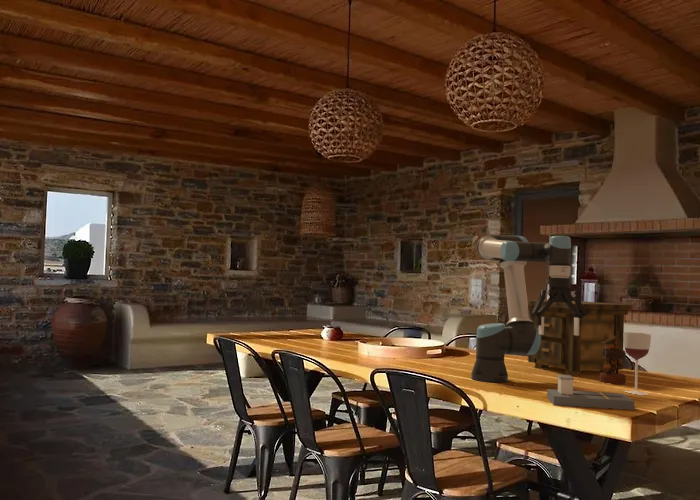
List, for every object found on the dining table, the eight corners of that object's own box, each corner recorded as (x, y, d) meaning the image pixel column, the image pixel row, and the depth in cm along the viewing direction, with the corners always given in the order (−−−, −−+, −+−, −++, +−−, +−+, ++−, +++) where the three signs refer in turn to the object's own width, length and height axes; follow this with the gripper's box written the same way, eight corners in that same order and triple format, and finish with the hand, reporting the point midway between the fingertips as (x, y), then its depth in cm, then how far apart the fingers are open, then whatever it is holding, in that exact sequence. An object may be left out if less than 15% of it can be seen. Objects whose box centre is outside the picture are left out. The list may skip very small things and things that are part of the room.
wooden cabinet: (630, 375, 292) (631, 304, 294) (571, 377, 279) (573, 303, 280) (576, 364, 325) (577, 301, 326) (521, 365, 311) (522, 299, 312)
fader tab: (560, 394, 218) (560, 377, 218) (557, 390, 224) (557, 374, 225) (573, 394, 217) (573, 378, 218) (569, 391, 224) (570, 375, 224)
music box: (618, 385, 260) (615, 337, 262) (593, 383, 269) (590, 336, 271) (635, 382, 270) (631, 335, 272) (610, 380, 279) (607, 335, 281)
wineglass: (617, 390, 249) (618, 332, 250) (641, 391, 250) (642, 332, 251) (629, 394, 240) (631, 334, 241) (654, 395, 241) (656, 335, 241)
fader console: (553, 405, 215) (553, 395, 215) (547, 397, 228) (547, 388, 228) (634, 410, 211) (634, 400, 211) (622, 402, 225) (622, 393, 225)
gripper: (531, 276, 228) (530, 334, 227) (596, 278, 231) (595, 336, 230) (523, 276, 236) (522, 333, 235) (586, 278, 239) (586, 334, 237)
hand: (558, 335), depth 232 cm, fingers open, 13 cm apart
